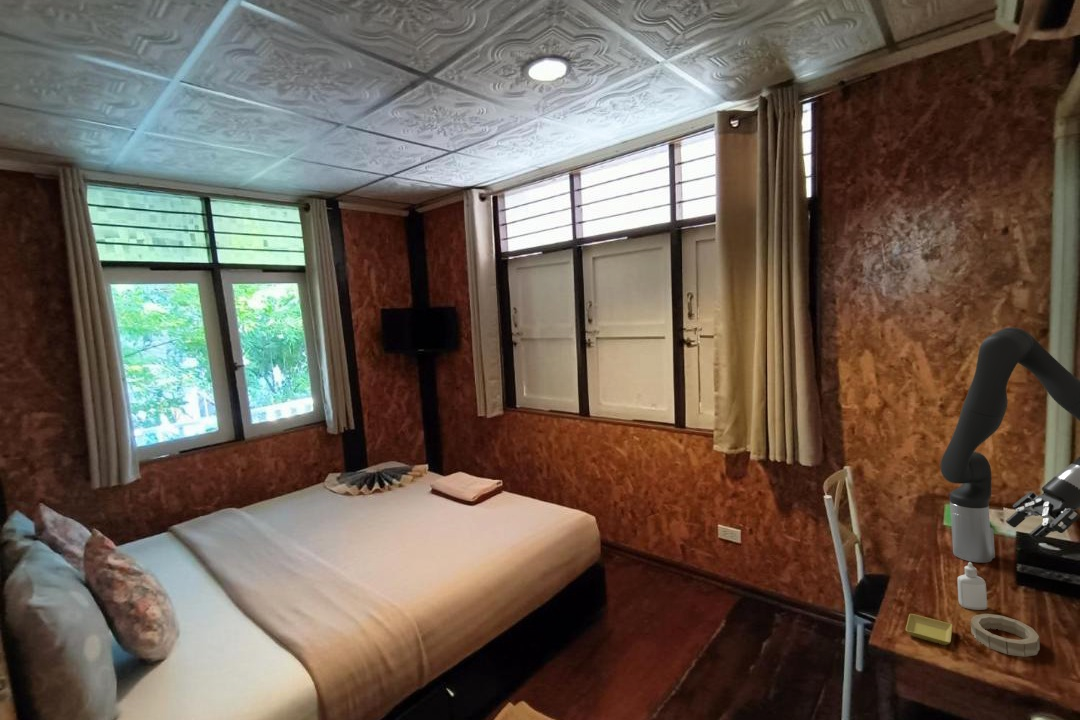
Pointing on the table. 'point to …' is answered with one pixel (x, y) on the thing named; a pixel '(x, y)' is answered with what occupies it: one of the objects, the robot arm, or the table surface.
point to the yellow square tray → (929, 629)
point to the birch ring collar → (1004, 645)
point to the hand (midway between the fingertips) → (1021, 531)
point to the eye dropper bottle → (972, 589)
